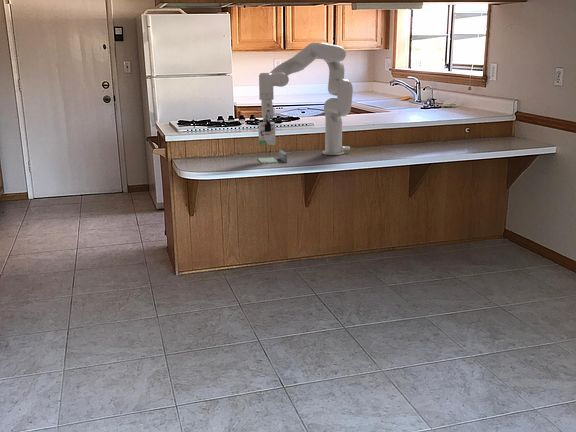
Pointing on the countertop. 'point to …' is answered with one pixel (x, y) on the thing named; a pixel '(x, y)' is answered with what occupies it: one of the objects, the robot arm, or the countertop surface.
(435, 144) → the countertop surface
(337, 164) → the countertop surface
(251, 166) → the countertop surface
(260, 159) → the pad
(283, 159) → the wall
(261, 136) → the ink box
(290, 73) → the robot arm
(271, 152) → the countertop surface
